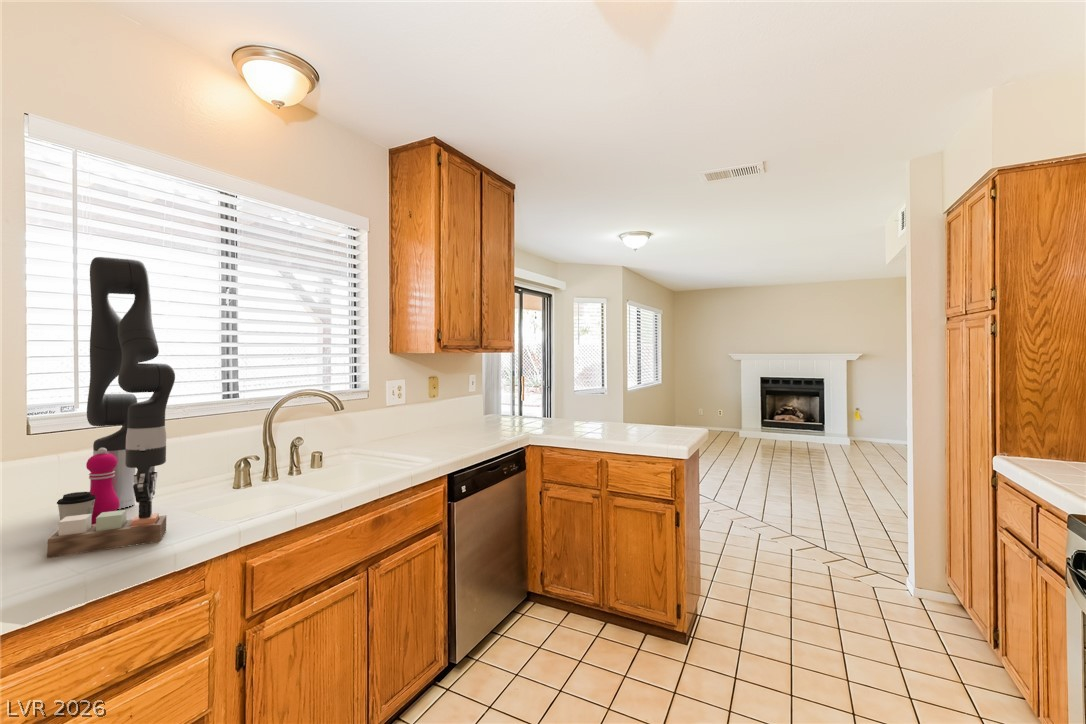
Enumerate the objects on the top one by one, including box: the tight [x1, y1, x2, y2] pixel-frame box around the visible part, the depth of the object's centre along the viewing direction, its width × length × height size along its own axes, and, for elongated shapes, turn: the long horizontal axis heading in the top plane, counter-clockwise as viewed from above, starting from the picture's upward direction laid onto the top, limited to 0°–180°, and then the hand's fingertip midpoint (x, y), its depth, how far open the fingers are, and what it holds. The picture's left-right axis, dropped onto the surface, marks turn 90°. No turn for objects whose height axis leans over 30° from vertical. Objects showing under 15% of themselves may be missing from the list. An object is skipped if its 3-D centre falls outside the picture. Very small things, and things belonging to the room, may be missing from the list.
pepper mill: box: [85, 448, 120, 524], centre depth 125 cm, size 7×7×20 cm
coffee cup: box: [56, 491, 96, 522], centre depth 116 cm, size 7×7×10 cm
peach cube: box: [131, 512, 160, 526], centre depth 114 cm, size 4×4×4 cm
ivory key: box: [58, 514, 92, 536], centre depth 108 cm, size 4×4×4 cm
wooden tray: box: [46, 514, 167, 558], centre depth 111 cm, size 19×8×4 cm, turn 121°
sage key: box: [96, 509, 127, 531], centre depth 111 cm, size 4×4×4 cm
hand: (145, 517), depth 114 cm, fingers closed
